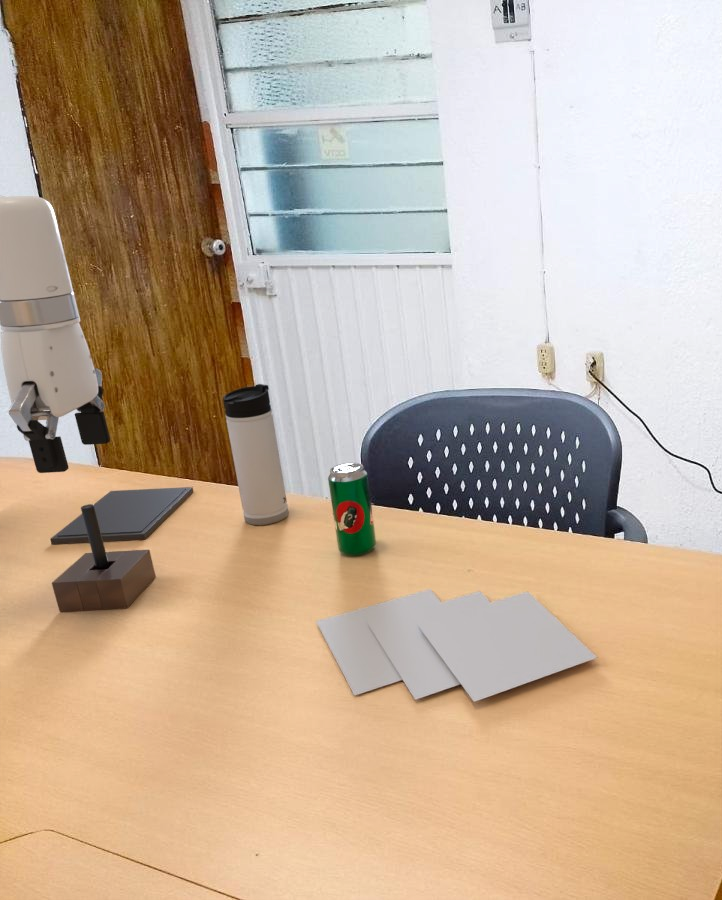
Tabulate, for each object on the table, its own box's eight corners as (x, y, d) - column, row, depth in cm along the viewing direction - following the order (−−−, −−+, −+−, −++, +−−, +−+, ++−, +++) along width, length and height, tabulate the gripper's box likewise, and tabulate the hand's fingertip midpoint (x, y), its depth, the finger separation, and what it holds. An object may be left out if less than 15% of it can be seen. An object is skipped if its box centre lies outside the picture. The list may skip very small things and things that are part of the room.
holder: (59, 612, 100) (51, 582, 99) (92, 580, 108) (85, 552, 106) (127, 608, 101) (120, 579, 99) (155, 576, 108) (149, 549, 107)
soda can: (383, 548, 114) (373, 467, 110) (350, 561, 111) (338, 478, 107) (365, 537, 118) (354, 458, 114) (332, 549, 114) (320, 468, 110)
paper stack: (378, 742, 76) (377, 736, 76) (315, 621, 96) (315, 616, 96) (597, 662, 87) (597, 657, 87) (499, 569, 107) (499, 564, 107)
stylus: (101, 597, 103) (78, 508, 99) (106, 591, 105) (84, 504, 101) (112, 596, 103) (90, 508, 99) (117, 590, 105) (96, 503, 101)
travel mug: (299, 512, 127) (279, 386, 120) (263, 529, 121) (240, 397, 115) (272, 505, 130) (251, 381, 123) (235, 520, 124) (211, 392, 118)
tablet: (51, 544, 118) (49, 538, 118) (111, 495, 135) (110, 490, 135) (145, 539, 119) (143, 533, 119) (193, 491, 136) (192, 486, 136)
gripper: (46, 301, 100) (81, 435, 106) (-48, 328, 84) (-2, 485, 89) (110, 298, 100) (141, 432, 106) (28, 325, 84) (70, 481, 90)
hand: (76, 456), depth 98 cm, fingers open, 9 cm apart
